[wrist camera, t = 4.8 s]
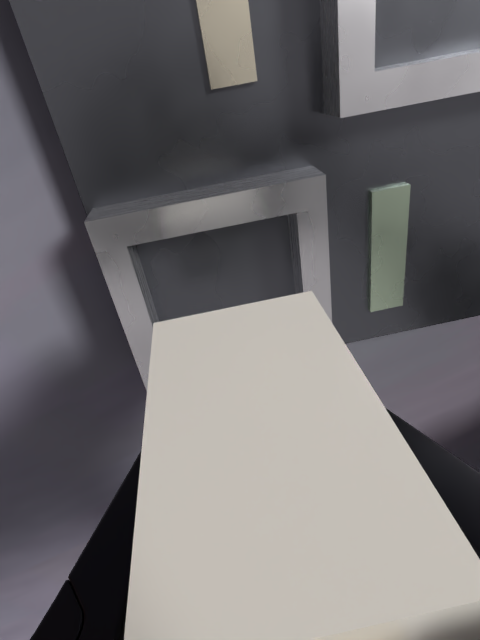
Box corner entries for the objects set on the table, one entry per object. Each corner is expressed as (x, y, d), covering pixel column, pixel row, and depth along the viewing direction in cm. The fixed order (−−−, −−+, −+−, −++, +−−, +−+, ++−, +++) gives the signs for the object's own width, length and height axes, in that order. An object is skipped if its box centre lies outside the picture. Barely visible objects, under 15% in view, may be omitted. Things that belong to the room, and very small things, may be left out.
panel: (485, 297, 19) (527, 328, 17) (150, 368, 19) (146, 409, 16) (608, -357, 10) (742, -490, 7) (-68, -252, 9) (-148, -360, 7)
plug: (320, 407, 12) (479, 775, 6) (189, 434, 12) (203, 843, 6) (311, 290, 10) (547, 667, 4) (153, 323, 10) (111, 770, 4)
